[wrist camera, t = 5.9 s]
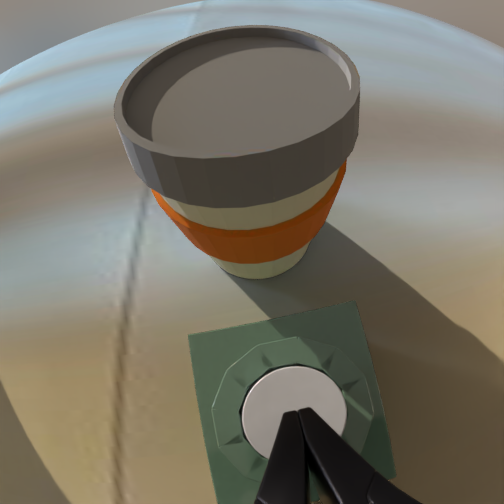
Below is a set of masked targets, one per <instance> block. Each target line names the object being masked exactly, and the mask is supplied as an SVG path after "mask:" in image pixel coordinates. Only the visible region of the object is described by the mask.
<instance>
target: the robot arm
mask: <svg viewBox="0 0 504 504" xmlns="http://www.w3.org/2000/svg"><path fill="white" fill-rule="evenodd" d="M308 467H309V468H308ZM309 471H310V474H311V477H312V479H313V482H314V485H315V487H316V490H317V492H318V495H319V498H320V500H321V503H322V504H422V503H420V502H419V501H417V500H415V499H414V498H412V497H411V496H409V495H407V494H406V493H405V492H403V491H402V490H400V489H399V488H397V487H396V486H395V485H393V484H392V483H391V482H390V481H389V480H387V479H386V478H385V477H384V476H383V475H382V474H381V473H379V472H378V471H376V469H375V468H374V467H373V466H372V465H370V464H369V463H368V462H367V461H366V460H365V459H364V458H363V457H362V456H361V455H360V454H359V453H357V452H356V451H355V450H354V449H353V448H352V447H351V446H350V445H349V444H348V443H347V442H346V441H345V440H344V439H343V438H342V437H341V436H340V435H339V434H338V433H336V432H335V431H334V430H333V429H332V428H331V427H330V426H329V425H328V424H327V423H326V422H325V421H324V420H323V419H322V418H321V417H320V416H319V415H318V414H317V413H316V412H315V411H314V410H313V409H312V408H311V407H306V408H302V409H298V411H296V410H293V411H288V412H284V413H283V415H282V418H281V422H280V425H279V428H278V432H277V435H276V438H275V441H274V444H273V448H272V451H271V454H270V457H269V460H268V463H267V466H266V469H265V472H264V475H263V478H262V481H261V484H260V487H259V490H258V493H257V495H256V499H255V501H254V504H311V490H310V476H309Z"/></svg>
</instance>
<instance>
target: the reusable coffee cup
mask: <svg viewBox="0 0 504 504" xmlns="http://www.w3.org/2000/svg"><path fill="white" fill-rule="evenodd" d="M359 103H360V77H359V74H358V72H357V69H356V67H355V65H354V63H353V62H352V61H351V60H350V58H349V57H348V56H347V55H346V54H345V53H344V52H343V51H342V50H340V49H339V48H338V47H336V46H335V45H334V44H332V43H330V42H328V41H326V40H324V39H322V38H320V37H318V36H315V35H312V34H310V33H307V32H304V31H299V30H295V29H291V28H286V27H278V26H268V25H246V26H233V27H226V28H220V29H215V30H210V31H207V32H203V33H199V34H196V35H193V36H190V37H187V38H185V39H182V40H180V41H177V42H175V43H173V44H171V45H169V46H167V47H165V48H163V49H161V50H160V51H158V52H156V53H155V54H153V55H152V56H150V57H149V58H147V59H146V60H145V61H144V62H142V63H141V64H140V65H139V66H138V67H137V68H135V69H134V70H133V72H132V73H131V74H130V75H129V76H128V77H127V79H126V80H125V81H124V82H123V84H122V86H121V88H120V89H119V91H118V93H117V96H116V100H115V103H114V119H115V122H116V125H117V128H118V130H119V133H120V136H121V139H122V142H123V144H124V147H125V150H126V152H127V155H128V158H129V160H130V162H131V164H132V167H133V169H134V171H135V173H136V174H137V175H138V176H139V177H140V179H141V180H142V181H143V182H144V183H145V184H146V185H147V186H148V187H150V188H151V189H152V192H153V194H154V196H155V198H156V200H157V202H158V204H159V205H160V207H161V208H162V209H163V210H164V211H165V212H166V214H167V215H168V216H169V217H170V218H171V219H172V221H173V222H174V223H175V224H176V225H177V227H178V228H179V229H180V230H181V231H182V232H183V233H184V235H185V236H186V237H187V238H188V239H189V240H190V241H191V242H192V243H193V244H194V245H195V246H196V247H197V248H199V249H200V250H202V251H203V252H205V253H206V254H208V255H210V257H211V258H212V259H213V260H214V261H215V262H216V263H217V264H218V265H219V266H220V267H221V268H222V269H224V270H225V271H227V272H228V273H230V274H233V275H235V276H238V277H242V278H247V279H264V278H270V277H274V276H276V275H279V274H282V273H284V272H285V271H287V270H289V269H290V268H292V267H293V266H294V265H295V264H296V263H297V262H298V261H299V260H300V259H301V258H302V256H303V255H304V254H305V252H306V250H307V248H308V245H309V243H310V241H311V239H312V238H314V237H315V236H316V234H317V233H318V232H319V230H320V229H321V227H322V226H323V224H324V223H325V220H326V218H327V216H328V214H329V211H330V209H331V207H332V204H333V202H334V200H335V197H336V195H337V193H338V190H339V188H340V185H341V183H342V180H343V177H344V175H345V172H346V161H347V157H348V156H349V155H350V153H351V152H352V151H353V148H354V145H355V142H356V139H357V136H358V127H359Z"/></svg>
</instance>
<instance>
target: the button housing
mask: <svg viewBox="0 0 504 504" xmlns="http://www.w3.org/2000/svg"><path fill="white" fill-rule="evenodd" d="M188 339H189V347H190V354H191V362H192V369H193V375H194V382H195V389H196V395H197V401H198V407H199V413H200V419H201V425H202V430H203V436H204V441H205V446H206V452H207V457H208V462H209V467H210V472H211V476H212V481H213V486H214V490H215V495H216V499H217V503H218V504H254V501H255V499H256V495H257V493H258V490H259V487H260V484H261V481H262V478H263V475H264V472H265V469H266V466H267V463H268V460H269V459H267V458H265V457H264V456H262V455H261V454H259V453H258V452H257V451H256V450H255V449H254V448H253V447H252V445H251V444H250V442H249V441H248V439H247V437H246V435H245V432H244V429H243V423H242V411H243V406H244V403H245V400H246V397H247V395H248V394H249V392H250V390H251V389H252V388H253V386H254V385H255V384H256V383H257V382H258V381H259V380H260V379H261V378H263V377H264V376H266V375H267V374H269V373H271V372H273V371H275V370H278V369H281V368H285V367H291V366H301V367H308V368H312V369H315V370H318V371H320V372H322V373H324V374H325V375H326V376H328V377H329V378H330V379H332V380H333V381H334V382H335V384H336V385H337V386H338V387H339V389H340V390H341V392H342V394H343V396H344V399H345V402H346V408H347V420H346V425H345V429H344V432H343V434H342V436H341V437H342V438H343V439H344V440H345V441H346V442H347V443H348V444H349V445H350V446H351V447H352V448H353V449H354V450H355V451H356V452H357V453H359V454H360V455H361V456H362V457H363V458H364V459H365V460H366V461H367V462H368V463H369V464H370V465H372V466H373V467H374V468H375V469H376V471H378V472H379V473H381V474H382V475H383V476H384V477H385V478H386V479H387V480H390V479H392V478H395V477H396V470H395V464H394V458H393V453H392V448H391V442H390V437H389V432H388V428H387V423H386V418H385V413H384V409H383V404H382V400H381V396H380V391H379V387H378V383H377V379H376V375H375V371H374V367H373V363H372V359H371V355H370V351H369V347H368V344H367V340H366V336H365V333H364V329H363V325H362V322H361V318H360V315H359V311H358V308H357V305H356V301H355V300H353V301H349V302H345V303H341V304H337V305H333V306H328V307H324V308H320V309H316V310H311V311H307V312H302V313H298V314H293V315H289V316H284V317H279V318H275V319H270V320H265V321H260V322H255V323H250V324H245V325H240V326H234V327H229V328H224V329H218V330H212V331H207V332H201V333H195V334H189V335H188ZM308 468H309V467H308ZM309 476H310V490H311V502H314V501H319V500H320V498H319V495H318V492H317V490H316V487H315V485H314V482H313V479H312V477H311V474H310V471H309Z"/></svg>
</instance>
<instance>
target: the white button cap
mask: <svg viewBox="0 0 504 504" xmlns="http://www.w3.org/2000/svg"><path fill="white" fill-rule="evenodd" d="M306 407H311V408H312V409H313V410H314V411H315V412H316V413H317V414H318V415H319V416H320V417H321V418H322V419H323V420H324V421H325V422H326V423H327V424H328V425H329V426H330V427H331V428H332V429H333V430H334V431H335V432H336V433H338V434H339V435H340V436H342V434H343V432H344V429H345V425H346V420H347V408H346V402H345V399H344V396H343V394H342V392H341V390H340V389H339V387H338V386H337V385H336V384H335V382H334V381H333V380H332V379H330V378H329V377H328V376H326V375H325V374H324V373H322V372H320V371H318V370H315V369H312V368H308V367H301V366H291V367H285V368H281V369H278V370H275V371H273V372H271V373H269V374H267V375H266V376H264V377H263V378H261V379H260V380H259V381H258V382H257V383H256V384H255V385H254V386H253V388H252V389H251V390H250V392H249V394H248V395H247V397H246V400H245V403H244V406H243V411H242V423H243V429H244V432H245V435H246V437H247V439H248V441H249V442H250V444H251V445H252V447H253V448H254V449H255V450H256V451H257V452H258V453H259V454H261V455H262V456H264V457H265V458H267V459H269V457H270V454H271V451H272V448H273V444H274V441H275V438H276V435H277V432H278V428H279V425H280V422H281V418H282V415H283V413H284V412H288V411H293V410H296V411H298V409H302V408H306Z"/></svg>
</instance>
